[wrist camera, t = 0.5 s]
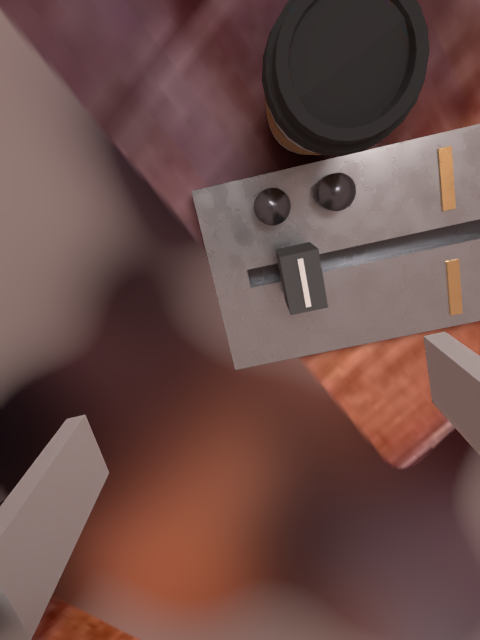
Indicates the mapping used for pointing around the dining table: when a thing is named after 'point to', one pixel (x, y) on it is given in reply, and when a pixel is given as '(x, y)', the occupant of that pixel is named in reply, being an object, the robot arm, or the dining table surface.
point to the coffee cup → (343, 72)
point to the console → (349, 246)
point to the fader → (302, 278)
